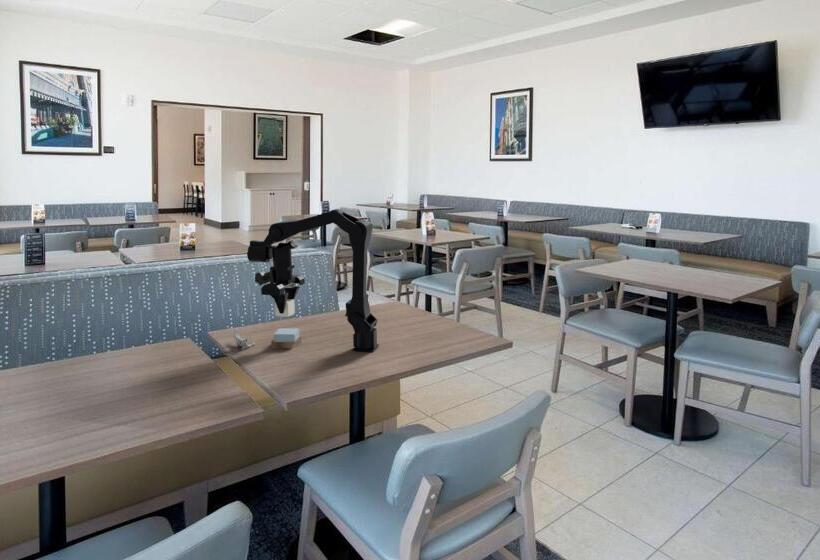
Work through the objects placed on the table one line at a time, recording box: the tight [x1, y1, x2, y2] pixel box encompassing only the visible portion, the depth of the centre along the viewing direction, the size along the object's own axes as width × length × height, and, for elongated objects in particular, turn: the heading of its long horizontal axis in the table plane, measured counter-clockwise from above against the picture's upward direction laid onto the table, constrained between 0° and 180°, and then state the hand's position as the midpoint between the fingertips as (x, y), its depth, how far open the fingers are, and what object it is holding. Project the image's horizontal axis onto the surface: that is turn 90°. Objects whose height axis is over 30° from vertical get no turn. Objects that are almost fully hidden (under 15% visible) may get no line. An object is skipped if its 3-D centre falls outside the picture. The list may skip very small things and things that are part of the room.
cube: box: [274, 299, 296, 317], centre depth 183 cm, size 4×4×4 cm
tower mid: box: [273, 327, 300, 342], centre depth 185 cm, size 6×6×2 cm
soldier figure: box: [232, 328, 256, 349], centre depth 184 cm, size 8×5×12 cm
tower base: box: [270, 335, 302, 350], centre depth 185 cm, size 7×7×2 cm
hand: (285, 311), depth 183 cm, fingers closed on cube, 4 cm apart
